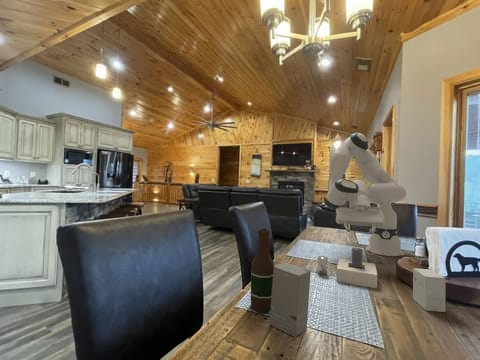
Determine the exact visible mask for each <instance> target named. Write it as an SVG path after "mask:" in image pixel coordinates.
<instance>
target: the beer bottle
mask: <svg viewBox="0 0 480 360" xmlns="http://www.w3.org/2000/svg"><path fill="white" fill-rule="evenodd" d="M270 233H271V232H270V230H269V229H268V228H259V229H258V231H257V235H258V241H257V251H256V255H255V257H254V258H253V260H252V261H251V266H250V307H251V310H253V311H254V312H256V313H259V314H270V308H271V296H272V283H273V270H274V266H275V263H274V260H273V259H272V257H271V253H270Z"/></svg>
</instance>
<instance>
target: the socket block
mask: <svg viewBox="0 0 480 360" xmlns="http://www.w3.org/2000/svg"><path fill="white" fill-rule="evenodd" d="M351 262H352V259H345V258H338V262H337V267H336V282H339V283H344V284H350V285H355V286H361V287H367V288H371V289H378V271H377V266H376V263H372V262H367V261H366V262H365V261H362V269H357V268H351Z"/></svg>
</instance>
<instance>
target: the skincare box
mask: <svg viewBox="0 0 480 360" xmlns="http://www.w3.org/2000/svg"><path fill="white" fill-rule="evenodd" d="M311 273H312V271H311V270H309V269H307V268H304V267H301V266H299V265H295V264H291V263H289V262H283V263H280V264H277V265H274V270H273V283H272V296H271V308H270V312H269V325H270V326H272V327H274V328H276V329H278V330H279V331H282V332H285V333H286V334H288V335H290V336H292V337H294V338H297V337H298V336H299V335H300V334H301V333H302V332H303V331H305V330H306V329H307V328H308V319H309V318H308V316H309V314H308V313H309V301H310V300H309V299H310V289H311V288H310V284H311V276H312V275H311Z"/></svg>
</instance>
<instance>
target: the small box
mask: <svg viewBox="0 0 480 360" xmlns="http://www.w3.org/2000/svg"><path fill="white" fill-rule="evenodd" d="M412 270H413V271H412V273H413V274H412V276H413V277H412V299H413V300H414V301H415V302H416V303H417V304H418V305H419V306H420V307H421V308H423V310H424V311H426V312H427V311H429V312H438V313H440V312H441V313H446V277H444V276H442V275H441V274H439V273H438V272H436V271H434V270H433V269H428V268H427V269H425V268H412Z"/></svg>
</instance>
